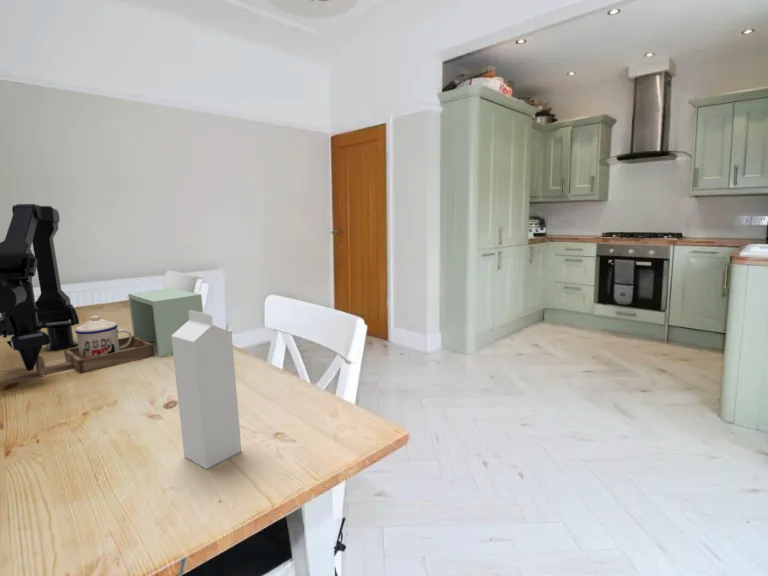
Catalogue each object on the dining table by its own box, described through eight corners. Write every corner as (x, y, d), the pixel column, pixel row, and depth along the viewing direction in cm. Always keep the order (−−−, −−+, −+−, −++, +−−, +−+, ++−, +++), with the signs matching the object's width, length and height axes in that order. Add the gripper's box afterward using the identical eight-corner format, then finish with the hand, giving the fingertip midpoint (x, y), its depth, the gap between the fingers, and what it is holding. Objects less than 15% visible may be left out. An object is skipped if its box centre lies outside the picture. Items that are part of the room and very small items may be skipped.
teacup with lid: (79, 368, 106) (72, 322, 104) (80, 359, 114) (74, 315, 112) (135, 359, 112) (130, 315, 111) (132, 350, 120) (127, 309, 118)
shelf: (134, 344, 126) (128, 293, 124) (177, 334, 135) (172, 288, 133) (159, 357, 113) (153, 301, 111) (206, 346, 122) (201, 294, 120)
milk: (219, 440, 70) (207, 306, 67) (242, 451, 66) (231, 310, 63) (183, 457, 65) (168, 313, 62) (205, 470, 62) (191, 318, 58)
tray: (33, 368, 107) (30, 352, 107) (135, 346, 124) (134, 332, 124) (45, 381, 98) (42, 364, 97) (154, 355, 115) (153, 341, 114)
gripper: (-33, 305, 99) (-21, 370, 102) (-25, 316, 87) (-11, 390, 89) (28, 297, 107) (38, 358, 110) (44, 307, 95) (55, 375, 97)
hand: (30, 370), depth 101 cm, fingers closed, pressing on tray
